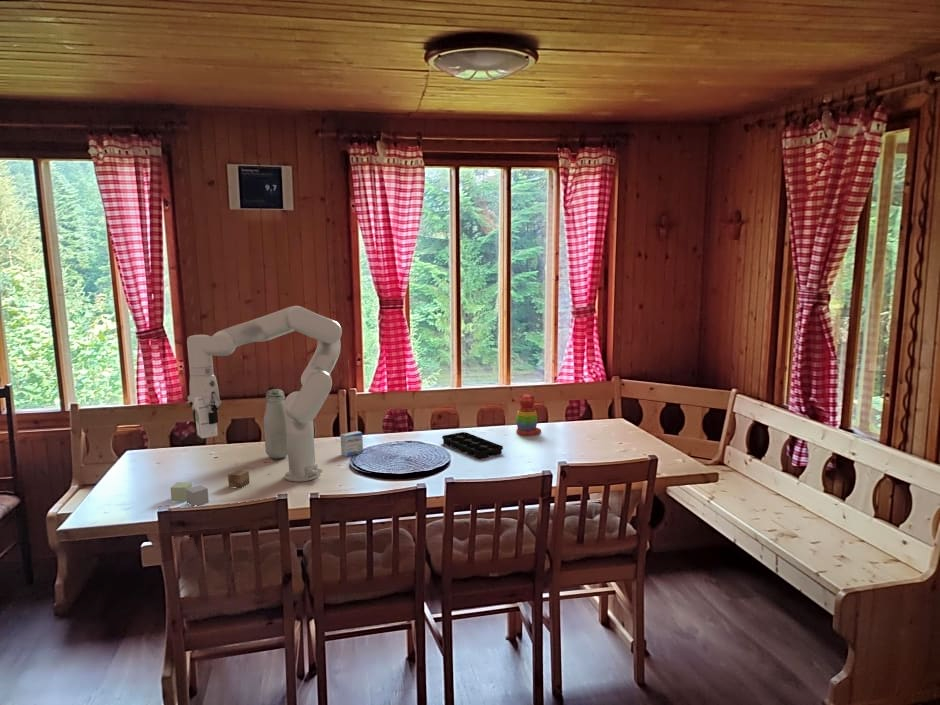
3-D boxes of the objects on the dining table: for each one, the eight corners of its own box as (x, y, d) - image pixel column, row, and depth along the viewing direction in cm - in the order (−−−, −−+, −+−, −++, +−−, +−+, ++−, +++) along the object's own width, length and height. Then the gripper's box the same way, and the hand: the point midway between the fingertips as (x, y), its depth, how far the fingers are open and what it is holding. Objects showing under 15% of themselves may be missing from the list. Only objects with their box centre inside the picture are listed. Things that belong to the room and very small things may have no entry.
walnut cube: (249, 484, 239) (248, 470, 238) (241, 489, 234) (240, 475, 233) (237, 483, 240) (236, 469, 239) (228, 487, 235) (227, 474, 235)
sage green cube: (192, 496, 228) (191, 482, 227) (186, 501, 223) (185, 487, 222) (178, 496, 228) (177, 482, 227) (171, 501, 223) (170, 487, 222)
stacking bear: (542, 431, 300) (542, 392, 297) (535, 437, 291) (535, 397, 288) (519, 429, 305) (519, 391, 302) (511, 435, 295) (511, 395, 293)
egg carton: (460, 438, 293) (460, 430, 292) (513, 451, 272) (513, 442, 272) (431, 447, 280) (431, 438, 280) (484, 462, 260) (484, 452, 259)
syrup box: (218, 435, 229) (214, 394, 227) (200, 439, 226) (196, 397, 224) (213, 432, 234) (210, 391, 231) (196, 435, 230) (192, 394, 228)
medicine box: (346, 457, 268) (345, 436, 267) (340, 454, 271) (339, 434, 270) (363, 452, 273) (362, 432, 272) (357, 450, 276) (356, 430, 275)
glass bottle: (267, 463, 262) (263, 393, 258) (264, 455, 271) (259, 388, 267) (293, 459, 266) (289, 390, 262) (289, 452, 275) (285, 385, 271)
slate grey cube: (208, 502, 222) (207, 488, 221) (194, 507, 218) (193, 492, 217) (201, 499, 225) (200, 485, 224) (186, 503, 221) (185, 489, 220)
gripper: (228, 371, 225) (232, 422, 228) (194, 367, 234) (198, 416, 237) (209, 375, 219) (213, 427, 221) (175, 371, 227) (180, 421, 230)
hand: (206, 421), depth 229 cm, fingers closed on syrup box, 7 cm apart
